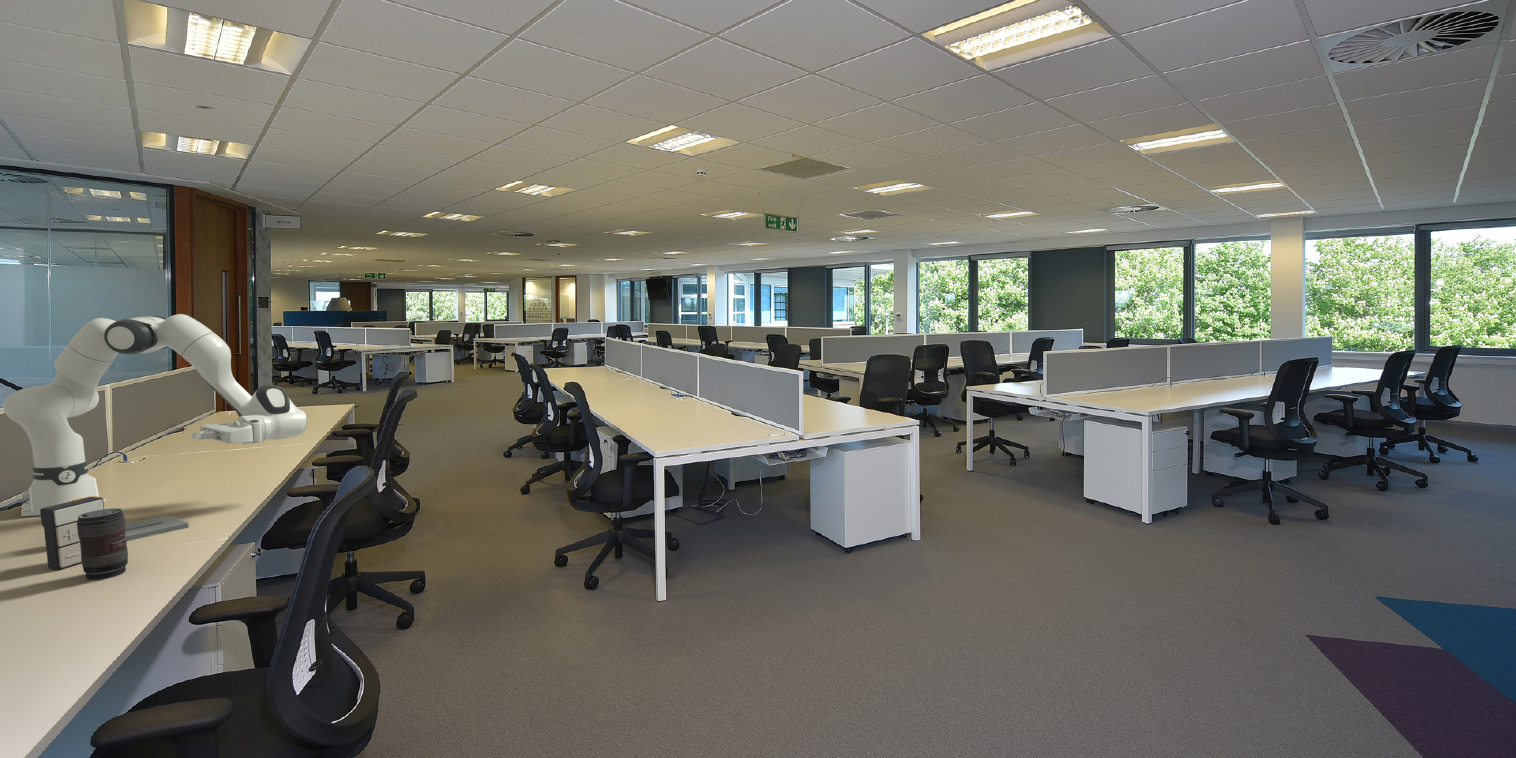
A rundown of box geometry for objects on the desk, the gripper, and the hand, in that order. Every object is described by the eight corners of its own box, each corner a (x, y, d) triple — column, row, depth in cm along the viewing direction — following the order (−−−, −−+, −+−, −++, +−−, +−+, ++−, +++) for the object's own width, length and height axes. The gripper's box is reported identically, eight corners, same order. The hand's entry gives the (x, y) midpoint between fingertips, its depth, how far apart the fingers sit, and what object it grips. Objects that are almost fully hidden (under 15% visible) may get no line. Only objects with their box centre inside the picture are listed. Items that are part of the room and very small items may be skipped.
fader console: (57, 542, 183) (56, 537, 183) (169, 518, 203) (169, 514, 203) (73, 552, 175) (72, 547, 175) (188, 527, 195) (188, 522, 195)
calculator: (60, 570, 163) (53, 509, 162) (46, 569, 164) (39, 508, 163) (111, 554, 174) (105, 497, 172) (98, 553, 175) (92, 496, 173)
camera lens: (126, 565, 167) (120, 505, 165) (132, 573, 162) (126, 511, 160) (80, 575, 161) (73, 513, 159) (85, 584, 156) (78, 520, 154)
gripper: (233, 416, 218) (178, 422, 206) (262, 422, 207) (206, 429, 195) (234, 436, 218) (180, 443, 207) (263, 443, 207) (208, 451, 196)
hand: (193, 436), depth 201 cm, fingers closed
